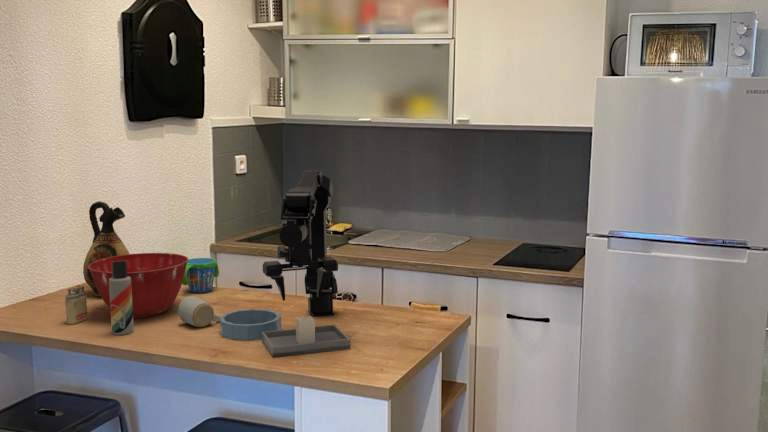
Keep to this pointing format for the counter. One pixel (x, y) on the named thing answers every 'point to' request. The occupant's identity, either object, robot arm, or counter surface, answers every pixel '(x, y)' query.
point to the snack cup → (200, 274)
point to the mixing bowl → (144, 280)
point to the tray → (287, 344)
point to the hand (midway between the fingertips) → (301, 298)
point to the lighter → (76, 305)
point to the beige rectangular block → (305, 330)
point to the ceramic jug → (103, 239)
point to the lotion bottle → (121, 299)
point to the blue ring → (257, 319)
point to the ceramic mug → (196, 312)
